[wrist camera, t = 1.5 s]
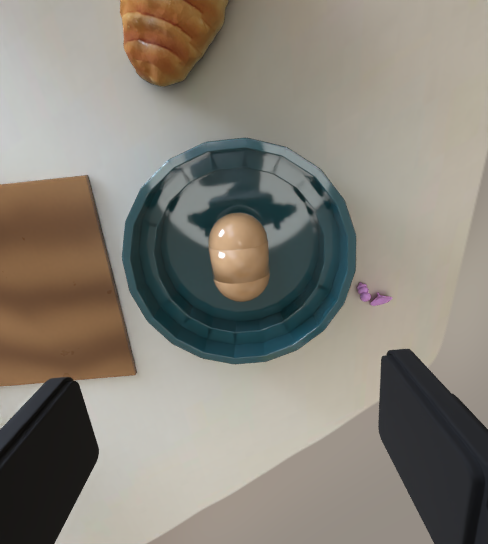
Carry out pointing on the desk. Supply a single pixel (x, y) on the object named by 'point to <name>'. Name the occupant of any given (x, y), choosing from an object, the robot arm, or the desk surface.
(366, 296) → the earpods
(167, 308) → the bowl
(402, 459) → the robot arm
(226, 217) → the beige ridged oval
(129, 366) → the wooden board
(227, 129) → the desk surface
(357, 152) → the desk surface
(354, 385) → the desk surface
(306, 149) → the desk surface
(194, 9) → the pastry
